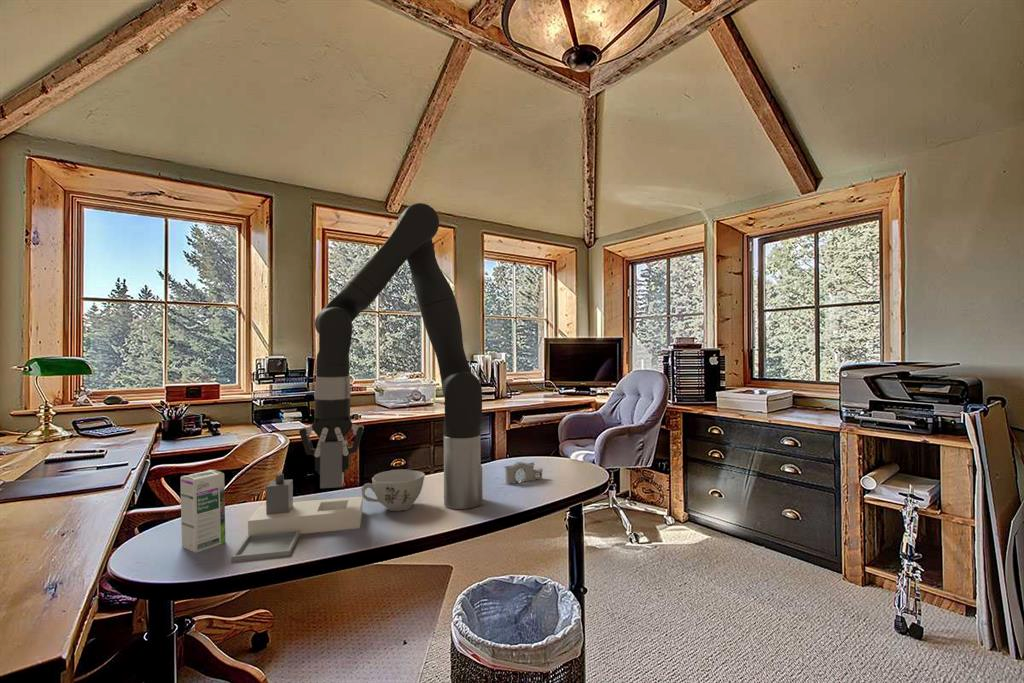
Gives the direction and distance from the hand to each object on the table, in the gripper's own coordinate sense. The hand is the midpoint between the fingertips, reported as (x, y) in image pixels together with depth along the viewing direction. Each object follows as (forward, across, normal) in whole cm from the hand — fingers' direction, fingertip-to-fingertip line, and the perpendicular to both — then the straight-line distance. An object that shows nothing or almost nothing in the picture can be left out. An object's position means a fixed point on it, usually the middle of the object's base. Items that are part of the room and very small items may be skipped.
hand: (332, 471), depth 107 cm
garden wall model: (+11, -50, -20) cm, 55 cm away
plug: (+3, 0, 0) cm, 3 cm away
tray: (+12, +11, +11) cm, 19 cm away
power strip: (+12, +5, 0) cm, 13 cm away
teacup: (+12, -14, -6) cm, 19 cm away
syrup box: (+12, +24, +6) cm, 27 cm away
